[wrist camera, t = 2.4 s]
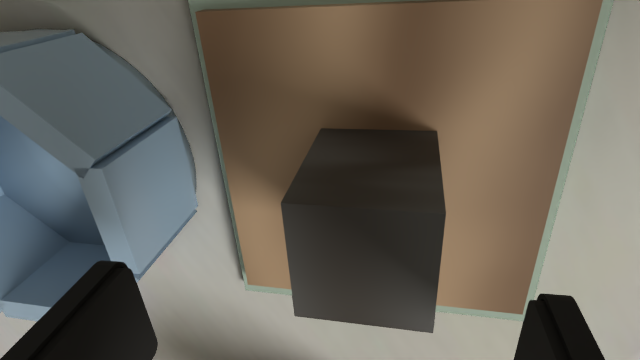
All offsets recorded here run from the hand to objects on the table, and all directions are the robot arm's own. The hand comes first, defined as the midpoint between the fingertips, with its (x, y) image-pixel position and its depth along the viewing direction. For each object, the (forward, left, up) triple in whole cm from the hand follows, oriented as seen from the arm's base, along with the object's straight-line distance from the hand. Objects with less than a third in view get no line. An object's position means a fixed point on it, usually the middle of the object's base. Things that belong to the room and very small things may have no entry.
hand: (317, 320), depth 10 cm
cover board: (-1, 0, -7) cm, 7 cm away
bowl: (+13, 0, -8) cm, 15 cm away
